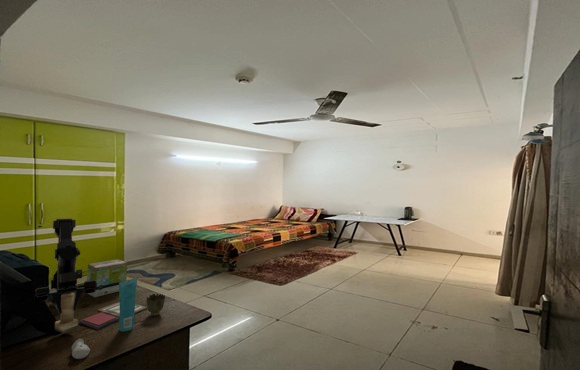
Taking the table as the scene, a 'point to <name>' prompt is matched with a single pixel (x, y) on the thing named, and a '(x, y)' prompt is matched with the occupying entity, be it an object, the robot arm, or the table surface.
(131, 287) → the tube
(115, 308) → the wooden picture frame
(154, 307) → the cup
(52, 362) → the table surface
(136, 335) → the table surface
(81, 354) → the pale two-lobed sculpture
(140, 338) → the table surface
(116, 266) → the tea box
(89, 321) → the ink pad
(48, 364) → the table surface
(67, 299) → the stamp
